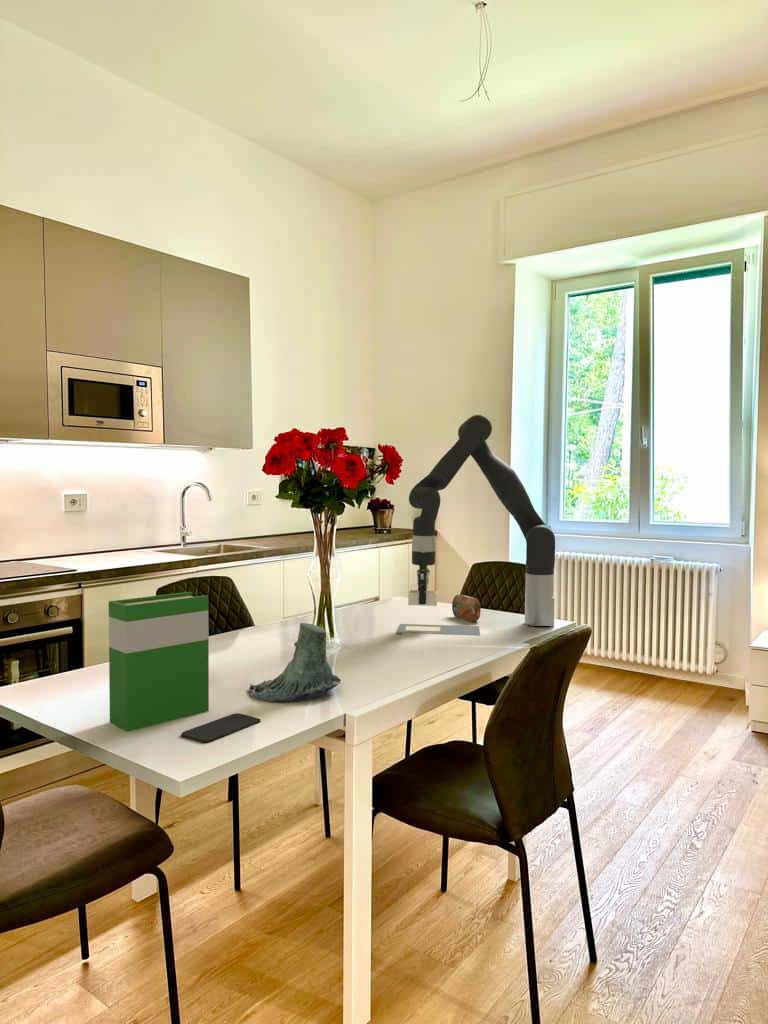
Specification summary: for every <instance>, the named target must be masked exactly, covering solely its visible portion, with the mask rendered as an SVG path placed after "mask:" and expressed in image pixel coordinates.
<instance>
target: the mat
mask: <svg viewBox="0 0 768 1024" xmlns="http://www.w3.org/2000/svg"><path fill="white" fill-rule="evenodd" d="M403 634H419V635H421V634H422V635H444V636H445V635H447V636H448V635H449V636H450V635H451V636H452V635H453V636H478V637H479V636H481V632H480V626H479V625H456V624H455V625H454V624H453V625H452V624H451V625H449V624H448V625H447V624H423V623H422V624H417V623H416V624H415V623H399V625H398V627H397V629H396V632H395V635H403Z"/></svg>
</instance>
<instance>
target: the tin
mask: <svg viewBox="0 0 768 1024" xmlns="http://www.w3.org/2000/svg"><path fill="white" fill-rule="evenodd" d="M451 608H452V609H451V610H452V614H453V616H454V618H456V617H459V618H458V619H461V620H465V621H468V622H470V623H472V622H477V621H478V620H479V619H480V617H481V609H482V608H481V603H480V601H479V600H478V599H477V597H473V596H469V595H464V594H456V595H455V596H454V597H453V600H452V604H451Z"/></svg>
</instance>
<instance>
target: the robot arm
mask: <svg viewBox="0 0 768 1024" xmlns="http://www.w3.org/2000/svg"><path fill="white" fill-rule="evenodd" d="M492 430H493V425H492V422H491V420H490V418H488V417H487V416H485V415H483V414H475V415H471V417H469V418H467V420H465V421H464V422H463V423H462V424H460V426H459V428H458V431H457V436H458V440H457V441H456V442H455V443H454V444H453V446H452V447H451V448H450V449H449V450H448V451H447V452H446V453H445V454H444V455H443V456H442V457H441V458H440V459H439V460H438V462H437V463H436V464H435V465H434V467H433V468H432V470H430V472H429V473H428V475H426V476H425V477H424V478H423V479H421V480H420V481H419V482H418V483H416V484H415V485H414V486H413V487H412V489H411V490H410V491H409V492H410V493H409V495H408V502H409V504H410V506H411V507H412V508H414V509H419V510H421V512H420V515H419V516H417V517H415V518H414V519H413V520H412V521H413V522H412V525H413V526H412V538H411V540H412V541H411V564H412V565H413V566H418V567H419V569H417V570H416V577H417V578H416V580H417V581H416V582H417V583H416V584H417V586H418V587H417V590H418V591H419V604H426V591H428V588H429V582H430V575H431V574H430V573H431V571H430V569H429V568H428V566H433V565H436V544H437V543H436V520H437V517H438V514H439V510H440V506H441V495H440V492H439V491H443V490H445V489H446V488H447V487H448V486H449V485H450V483H451V481H453V479H454V478H455V476H456V475H457V474H458V472H459V470H461V468H462V466H463V465H464V464H465V463H466V461H467V460H468V458H469V457H470V456H471V458H472V459H473V460H474V461H475V462H476V464H477V466H478V467H479V469H480V470H481V472H482V474H483V475H484V477H485V478H486V480H487V481H488V483H489V485H490V487H491V489H492V490H493V491H494V493H495V495H496V496H497V498H498V500H499V501H500V502H501V504H502V505H503V507H505V510H507V511H508V512H509V513H510V515H511V516H512V517H513V519H514V520H515V522H516V523H517V524H518V527H519V529H520V530H521V532H522V535H523V537H524V539H525V546H526V547H525V548H526V549H525V550H526V553H525V556H526V557H525V584H524V585H525V586H524V587H525V589H524V591H525V592H524V598H525V599H524V624H525V625H526V626H528V625H529V626H528V627H534V626H550V627H555V597H554V589H555V588H554V583H555V564H556V561H555V559H556V536H555V534H554V532H553V530H552V529H551V528H549V527H548V526H547V524H546V523H545V521H543V519H542V518H541V516H540V515H539V514H538V512H537V511H536V509H535V507H534V506H533V504H532V501H531V499H530V497H529V494H528V492H527V489H526V487H525V485H524V484H523V483H522V481H521V479H520V478H519V476H518V474H517V473H516V472H515V470H514V469H513V468H512V467H511V466H510V465H508V464H507V463H506V462H505V461H503V460H502V459H501V458H499V457H498V456H496V454H495V453H494V452H493V451H492V449H491V447H490V446H489V444H488V443H487V440H488V438H490V436H491V435H492Z"/></svg>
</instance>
